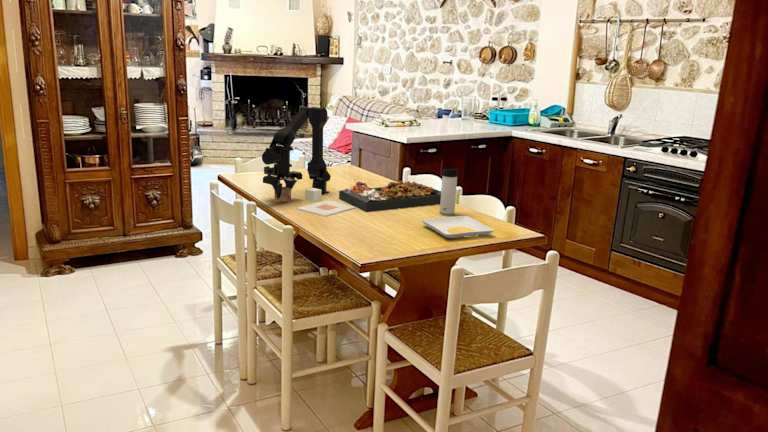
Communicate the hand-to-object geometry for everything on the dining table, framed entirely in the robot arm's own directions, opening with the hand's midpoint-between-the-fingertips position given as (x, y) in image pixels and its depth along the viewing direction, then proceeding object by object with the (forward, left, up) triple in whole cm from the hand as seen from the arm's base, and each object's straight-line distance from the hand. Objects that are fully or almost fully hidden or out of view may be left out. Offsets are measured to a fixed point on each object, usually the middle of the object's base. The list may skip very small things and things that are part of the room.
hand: (282, 197), depth 271 cm
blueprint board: (-6, +20, -2) cm, 21 cm away
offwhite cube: (-13, +6, -2) cm, 15 cm away
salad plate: (-17, +77, -3) cm, 79 cm away
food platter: (-40, +32, -3) cm, 51 cm away
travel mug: (-37, +61, -3) cm, 71 cm away
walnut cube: (0, 0, -1) cm, 1 cm away
